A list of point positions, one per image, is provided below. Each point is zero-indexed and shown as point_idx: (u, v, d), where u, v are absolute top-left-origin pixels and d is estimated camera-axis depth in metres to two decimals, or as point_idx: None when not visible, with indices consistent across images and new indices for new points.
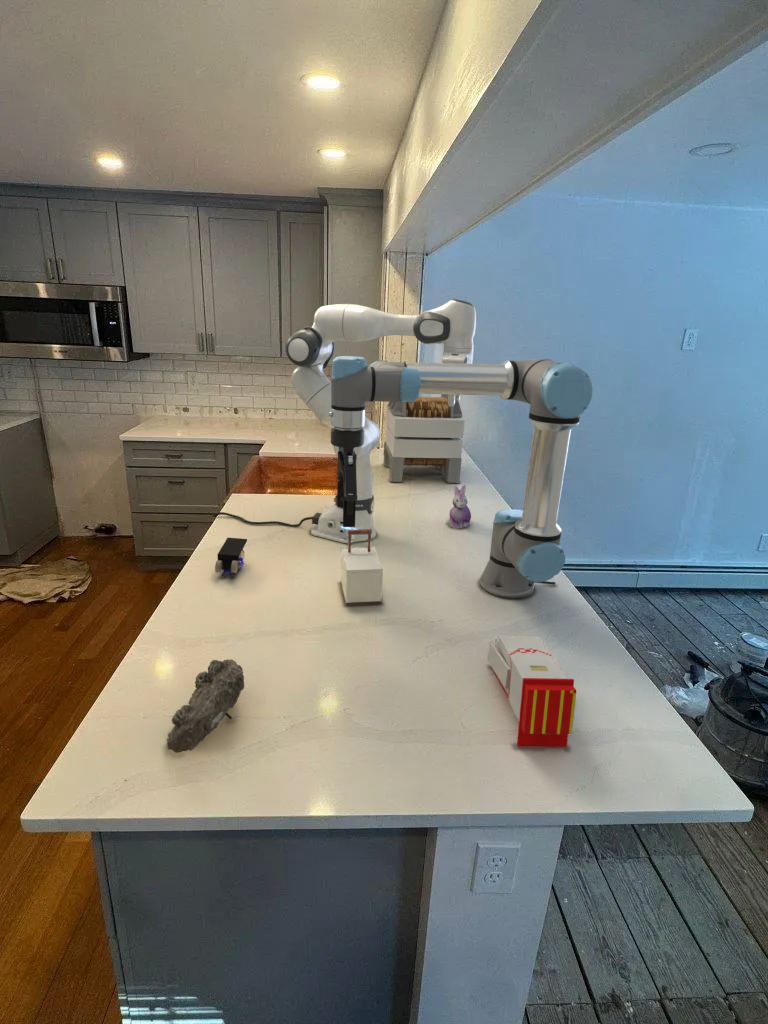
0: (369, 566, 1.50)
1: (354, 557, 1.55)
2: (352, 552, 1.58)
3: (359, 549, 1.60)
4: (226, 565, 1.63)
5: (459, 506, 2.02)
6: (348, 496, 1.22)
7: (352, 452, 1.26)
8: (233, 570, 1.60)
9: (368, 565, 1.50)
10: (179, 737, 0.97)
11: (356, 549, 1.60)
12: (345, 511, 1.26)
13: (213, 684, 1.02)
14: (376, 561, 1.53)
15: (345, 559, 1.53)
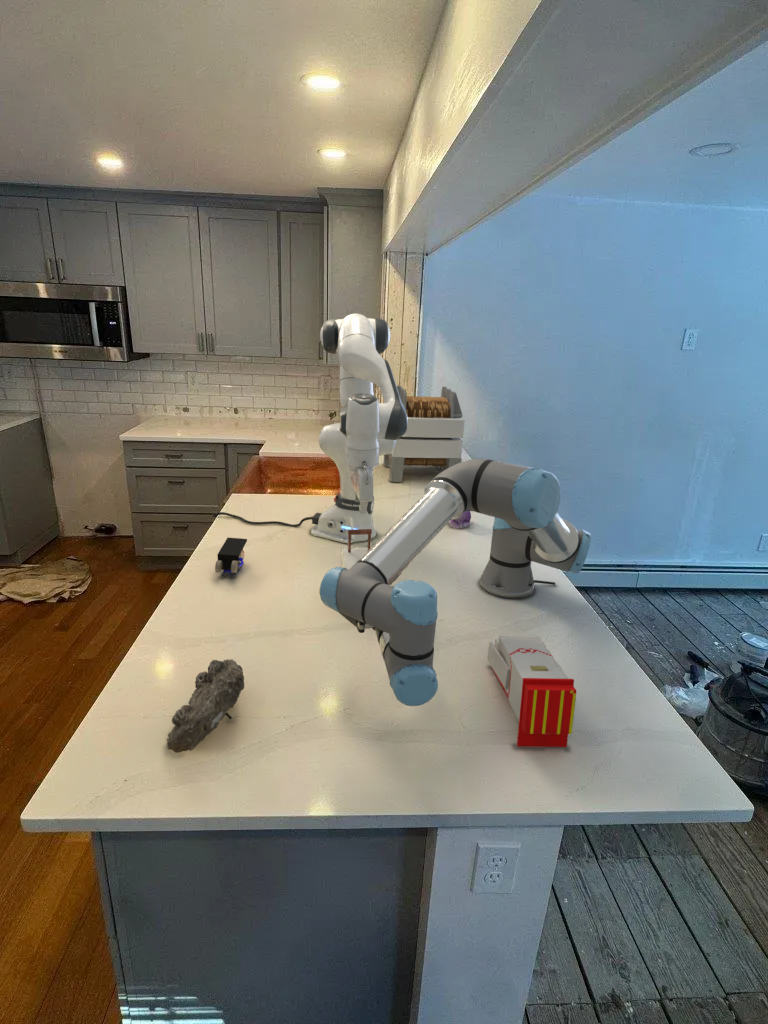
0: None
1: (354, 557, 1.55)
2: (352, 552, 1.58)
3: (359, 549, 1.60)
4: (226, 565, 1.63)
5: None
6: None
7: None
8: (233, 570, 1.60)
9: None
10: (179, 737, 0.97)
11: (356, 549, 1.60)
12: None
13: (213, 684, 1.02)
14: None
15: (345, 559, 1.53)
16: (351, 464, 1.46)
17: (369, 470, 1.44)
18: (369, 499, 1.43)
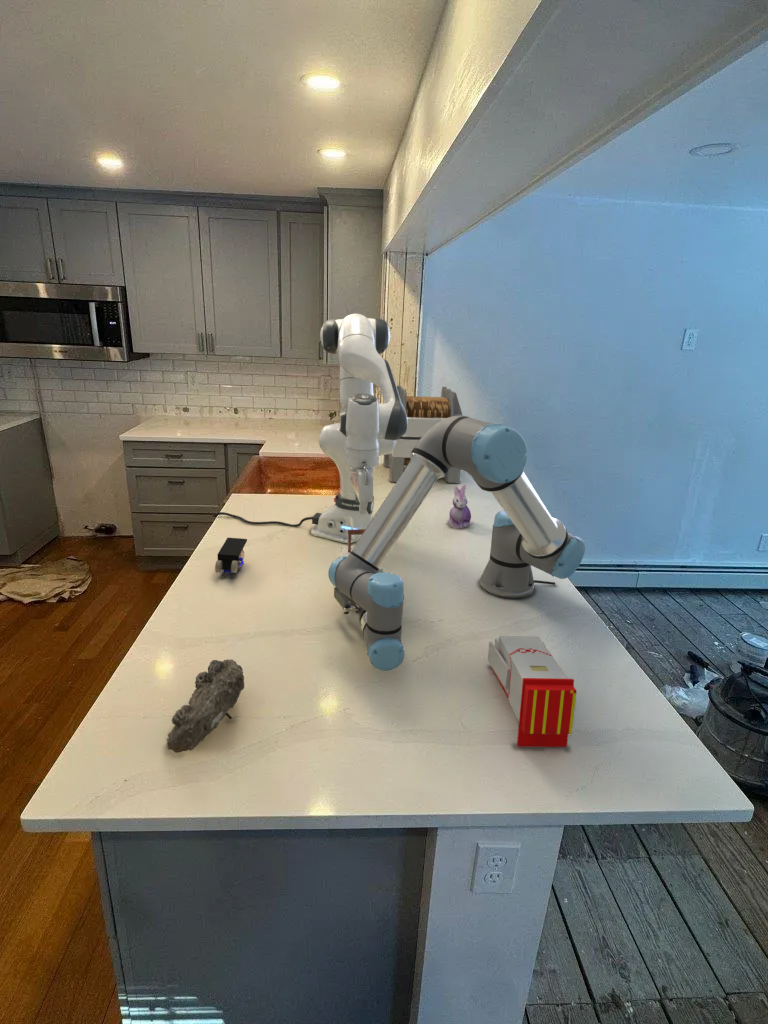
0: None
1: None
2: None
3: None
4: (226, 565, 1.63)
5: (459, 506, 2.02)
6: None
7: None
8: (233, 570, 1.60)
9: None
10: (179, 737, 0.97)
11: None
12: None
13: (213, 684, 1.02)
14: None
15: None
16: (351, 464, 1.46)
17: (369, 470, 1.44)
18: (369, 499, 1.43)
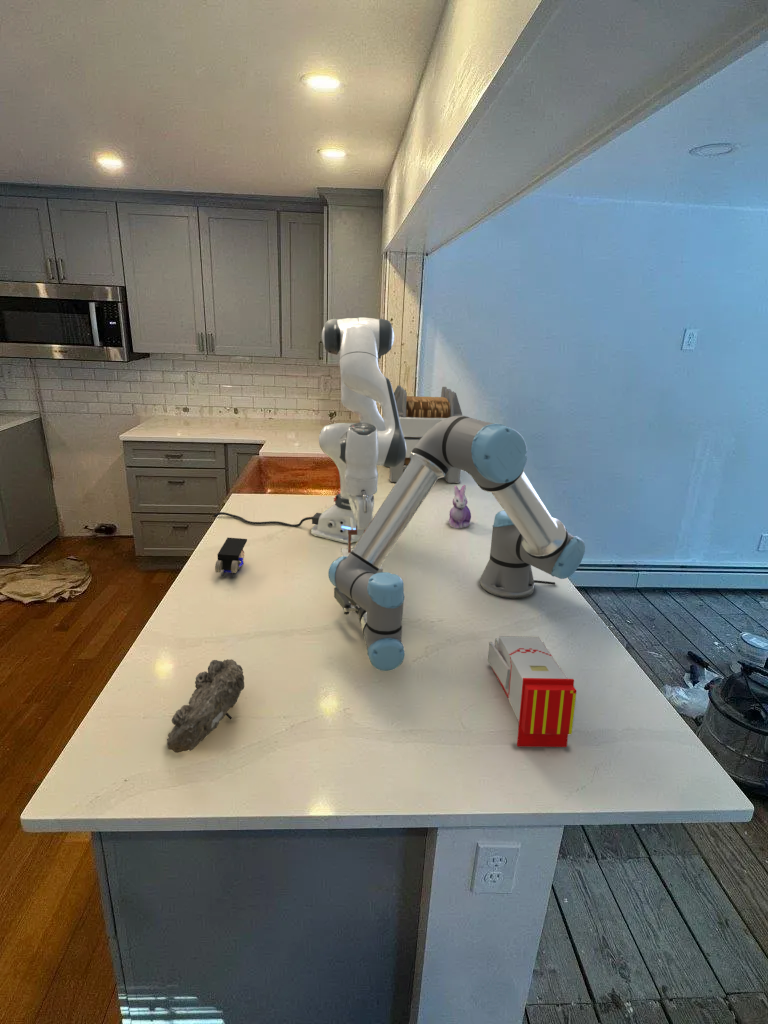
0: None
1: None
2: None
3: None
4: (226, 565, 1.63)
5: (459, 506, 2.02)
6: None
7: None
8: (233, 570, 1.60)
9: None
10: (179, 737, 0.97)
11: None
12: None
13: (213, 684, 1.02)
14: None
15: None
16: (350, 492, 1.49)
17: (368, 498, 1.47)
18: None
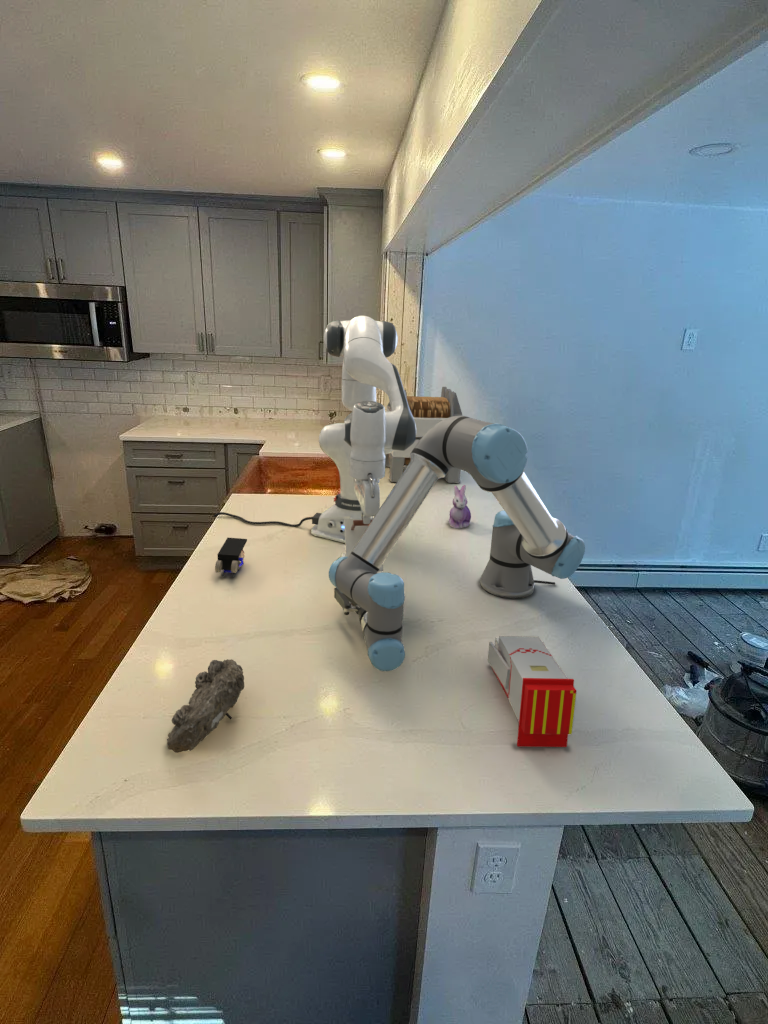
0: None
1: (356, 542, 1.49)
2: (355, 529, 1.50)
3: None
4: (226, 565, 1.63)
5: (459, 506, 2.02)
6: None
7: None
8: (233, 570, 1.60)
9: None
10: (179, 737, 0.97)
11: None
12: None
13: (213, 684, 1.02)
14: None
15: (347, 546, 1.48)
16: (356, 476, 1.37)
17: (375, 482, 1.35)
18: (375, 513, 1.34)
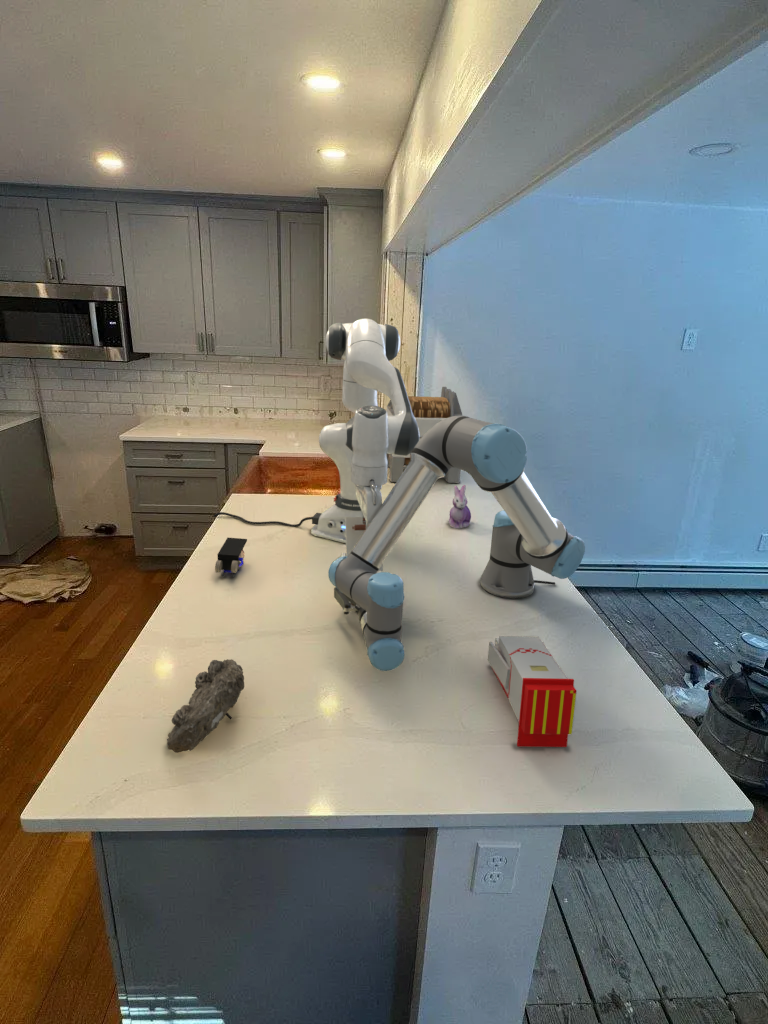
0: None
1: (357, 541, 1.47)
2: None
3: None
4: (226, 565, 1.63)
5: (459, 506, 2.02)
6: None
7: None
8: (233, 570, 1.60)
9: None
10: (179, 737, 0.97)
11: (361, 521, 1.48)
12: None
13: (213, 684, 1.02)
14: None
15: (347, 546, 1.47)
16: (357, 482, 1.34)
17: (377, 489, 1.32)
18: None
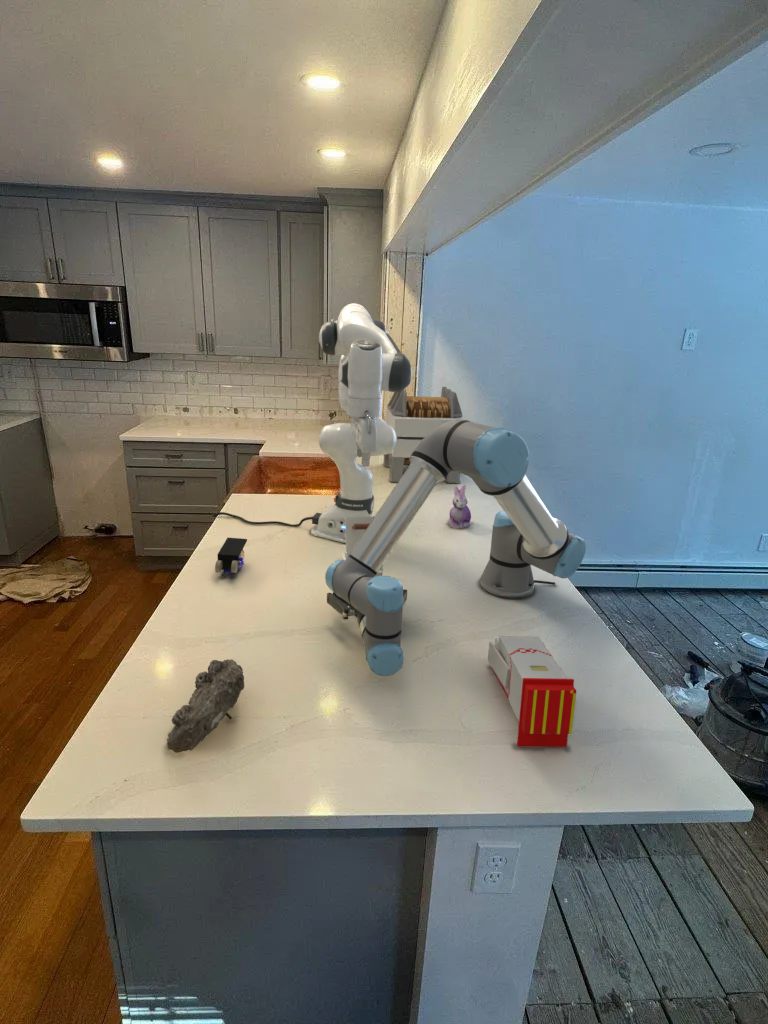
0: None
1: (357, 541, 1.48)
2: None
3: (364, 521, 1.48)
4: (226, 565, 1.63)
5: (459, 506, 2.02)
6: (406, 598, 1.43)
7: None
8: (233, 570, 1.60)
9: None
10: (179, 737, 0.97)
11: (361, 521, 1.48)
12: None
13: (213, 684, 1.02)
14: None
15: (347, 546, 1.47)
16: (353, 414, 1.40)
17: (372, 419, 1.38)
18: (372, 449, 1.37)
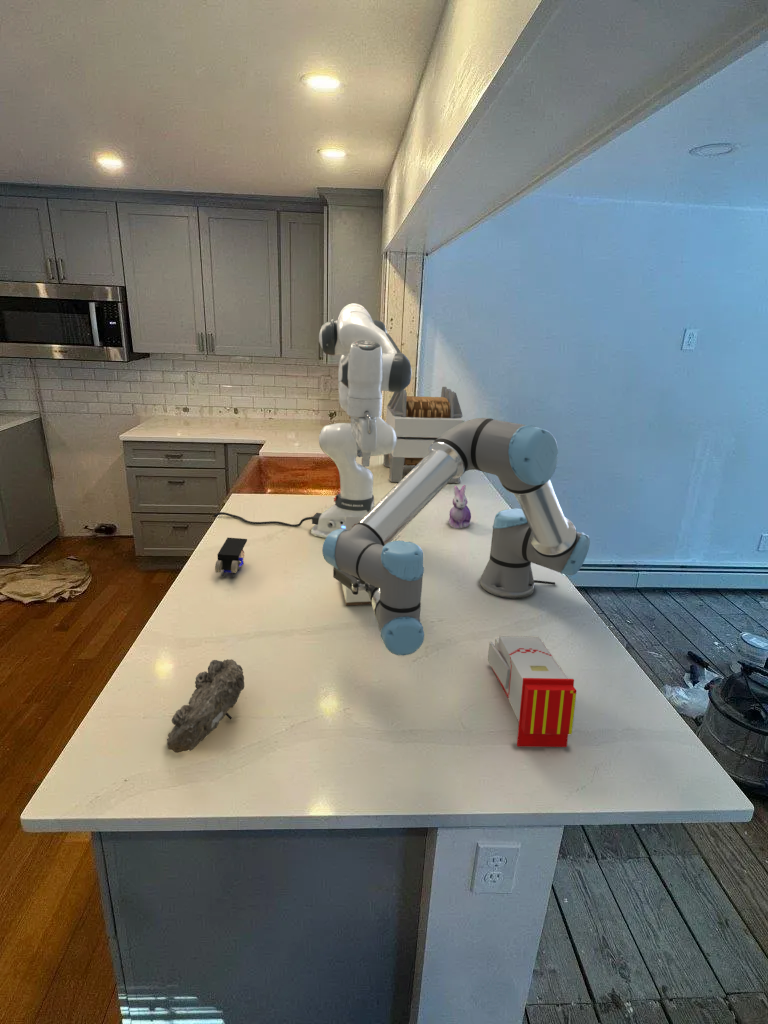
0: None
1: None
2: None
3: None
4: (226, 565, 1.63)
5: (459, 506, 2.02)
6: None
7: None
8: (233, 570, 1.60)
9: None
10: (179, 737, 0.97)
11: None
12: None
13: (213, 684, 1.02)
14: None
15: None
16: (353, 414, 1.40)
17: (372, 419, 1.38)
18: (372, 449, 1.37)
